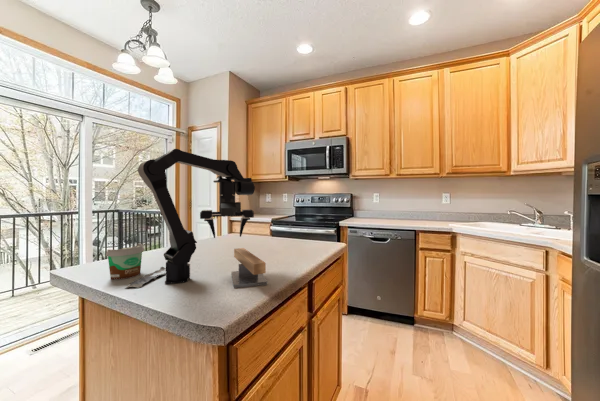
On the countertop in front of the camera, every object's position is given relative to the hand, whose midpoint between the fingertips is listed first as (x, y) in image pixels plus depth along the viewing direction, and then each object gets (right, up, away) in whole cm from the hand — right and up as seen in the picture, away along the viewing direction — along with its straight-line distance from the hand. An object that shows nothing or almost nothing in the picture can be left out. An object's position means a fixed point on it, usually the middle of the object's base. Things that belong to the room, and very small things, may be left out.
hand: (227, 237), depth 96 cm
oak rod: (+10, -7, -11) cm, 17 cm away
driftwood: (-23, -13, -9) cm, 28 cm away
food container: (-31, -12, -7) cm, 34 cm away
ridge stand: (+10, -12, -11) cm, 19 cm away
